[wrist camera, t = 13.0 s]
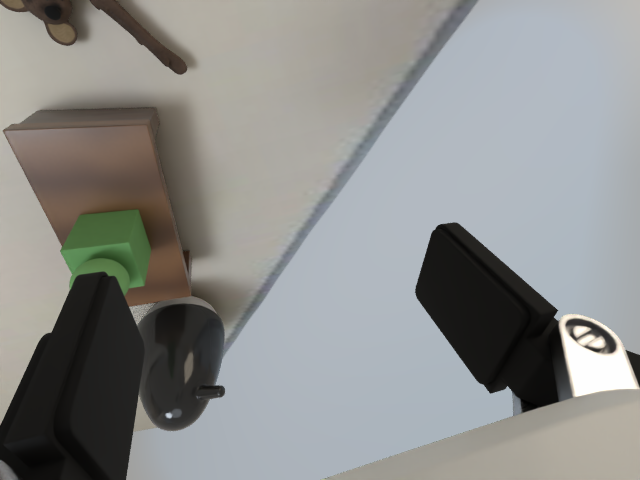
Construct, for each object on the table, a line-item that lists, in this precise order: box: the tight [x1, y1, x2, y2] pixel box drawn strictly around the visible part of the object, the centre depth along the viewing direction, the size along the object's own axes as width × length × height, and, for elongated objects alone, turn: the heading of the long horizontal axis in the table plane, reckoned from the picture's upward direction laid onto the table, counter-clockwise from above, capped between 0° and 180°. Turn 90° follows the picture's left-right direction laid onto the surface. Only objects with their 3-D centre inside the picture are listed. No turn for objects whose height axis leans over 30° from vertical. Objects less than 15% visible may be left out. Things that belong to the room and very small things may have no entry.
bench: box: [3, 108, 192, 307], centre depth 31 cm, size 18×9×6 cm, turn 178°
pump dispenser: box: [137, 296, 225, 431], centre depth 38 cm, size 10×10×15 cm
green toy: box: [60, 209, 151, 296], centre depth 26 cm, size 4×4×8 cm
